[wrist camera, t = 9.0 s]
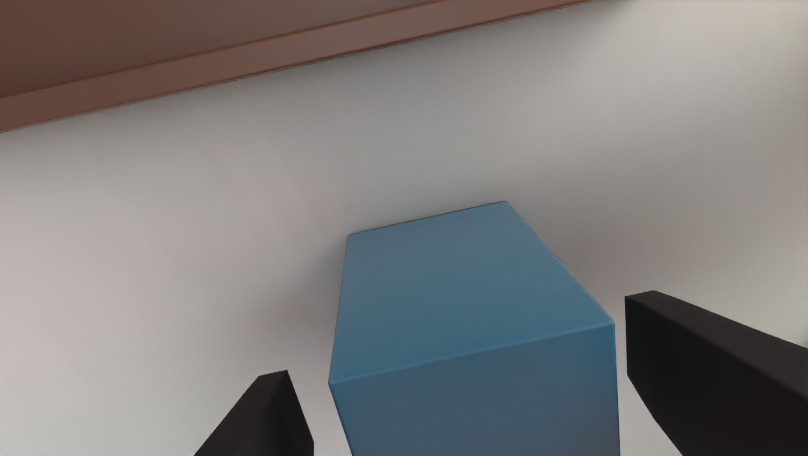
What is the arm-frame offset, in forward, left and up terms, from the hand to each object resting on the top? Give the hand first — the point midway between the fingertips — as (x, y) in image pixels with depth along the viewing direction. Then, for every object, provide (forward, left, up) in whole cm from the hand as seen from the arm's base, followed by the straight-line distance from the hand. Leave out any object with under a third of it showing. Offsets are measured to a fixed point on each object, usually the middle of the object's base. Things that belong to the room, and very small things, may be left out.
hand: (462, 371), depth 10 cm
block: (0, 0, -4) cm, 4 cm away
